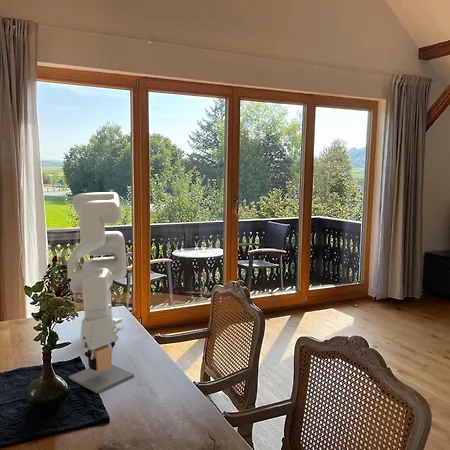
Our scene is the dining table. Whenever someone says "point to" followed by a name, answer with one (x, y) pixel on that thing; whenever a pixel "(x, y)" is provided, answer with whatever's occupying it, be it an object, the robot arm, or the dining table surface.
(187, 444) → the dining table surface
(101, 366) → the block
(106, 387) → the mat
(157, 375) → the dining table surface
